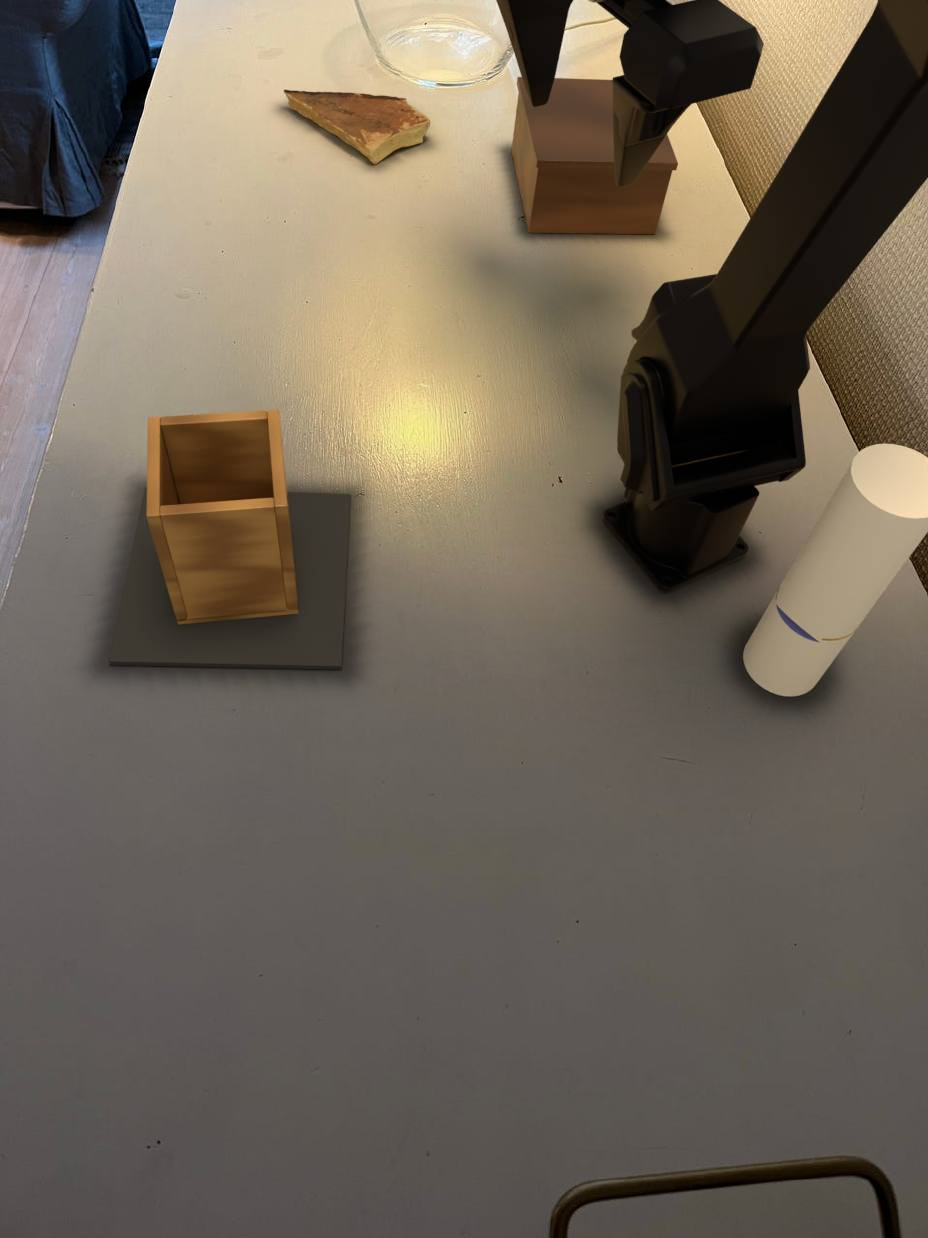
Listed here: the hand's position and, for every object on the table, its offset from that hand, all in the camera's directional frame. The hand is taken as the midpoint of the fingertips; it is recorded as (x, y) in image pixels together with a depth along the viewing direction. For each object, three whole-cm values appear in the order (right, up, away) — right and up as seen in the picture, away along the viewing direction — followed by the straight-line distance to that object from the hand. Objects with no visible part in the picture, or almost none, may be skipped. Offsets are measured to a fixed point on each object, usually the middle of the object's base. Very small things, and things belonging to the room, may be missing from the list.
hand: (580, 143), depth 59 cm
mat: (-20, -26, -4) cm, 33 cm away
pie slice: (-16, +11, +22) cm, 29 cm away
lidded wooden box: (+2, +6, +20) cm, 21 cm away
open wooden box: (-20, -26, -4) cm, 33 cm away
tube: (+11, -31, -4) cm, 33 cm away
